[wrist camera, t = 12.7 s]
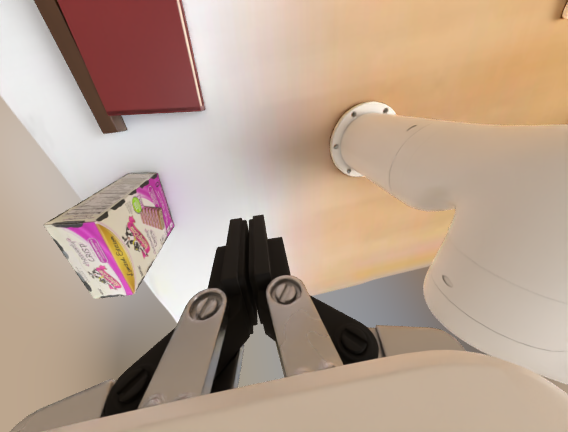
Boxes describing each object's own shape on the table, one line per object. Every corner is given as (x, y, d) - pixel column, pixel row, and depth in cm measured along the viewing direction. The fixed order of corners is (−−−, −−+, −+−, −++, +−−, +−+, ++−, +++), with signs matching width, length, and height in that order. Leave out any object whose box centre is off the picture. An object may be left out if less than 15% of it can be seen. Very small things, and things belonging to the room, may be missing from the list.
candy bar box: (176, 226, 39) (135, 296, 25) (149, 228, 39) (92, 301, 25) (159, 170, 34) (94, 222, 20) (127, 171, 33) (36, 225, 19)
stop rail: (28, -87, 20) (2, -109, 18) (127, 129, 30) (118, 132, 28) (6, -87, 20) (-24, -109, 18) (113, 131, 30) (102, 133, 28)
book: (170, -53, 22) (159, -73, 20) (205, 110, 30) (201, 111, 28) (50, -57, 21) (22, -79, 18) (120, 114, 29) (107, 115, 26)
